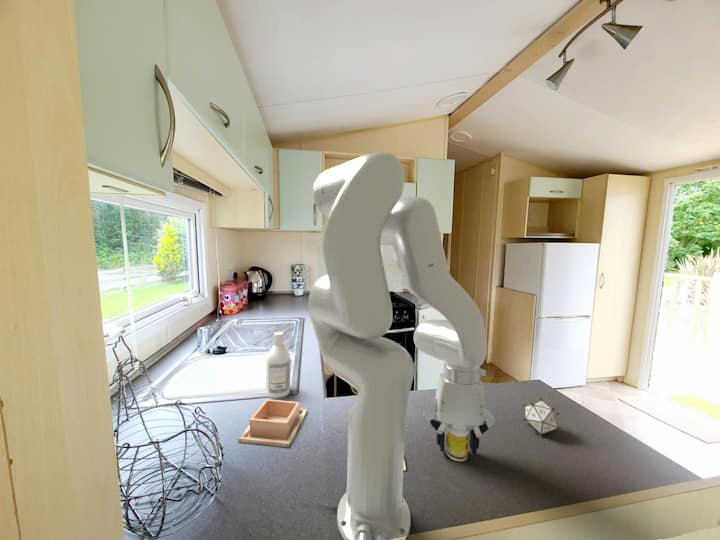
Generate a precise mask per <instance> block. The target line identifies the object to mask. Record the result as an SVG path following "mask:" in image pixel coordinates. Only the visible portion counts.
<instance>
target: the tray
mask: <svg viewBox="0 0 720 540" xmlns="http://www.w3.org/2000/svg"><path fill="white" fill-rule="evenodd" d="M307 413H308V409H307V408H300V412H299V418H298V420H297V422H296V424H295V426H294V427H293V429H292V431H291V433H290V435H289V436H288V438H287V439H277V438H267V437H258V436H250V424H249V425H248V426H247V427H246V428H245V430H244V431H243V432H242V434H241V435H240V436H239V438H238V443H244V444H254V445H265V446H271V447H280V448H281V447H283V448H290V446H291V444H292V442H293V441H294V438H295V437H296V435H297V433H298V431H299V429H300V427H301V425H302V423H303V422H304V419H305V417H306V415H307ZM287 418H288V417H284V416H273V415H267V417H266V418H265V420H276V421H286V420H287Z"/></svg>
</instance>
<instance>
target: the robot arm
mask: <svg viewBox="0 0 720 540" xmlns="http://www.w3.org/2000/svg"><path fill="white" fill-rule="evenodd" d="M404 187H405V171H404V168H403V164H402V163H401V160H400V159H399V158H398V157H397V156H395V155H394V154H392V153H389V152H386V151H377V152H372V153H367V154H364V155H360V156H358V157H355V158H353V159H350V160H348V161H345V162H344V163H341V164H339V165H336V166H334V167H330V168H329V169H326V170H324V171H323V172H322V173H320V174H319V175H318V177H316V180H315V182H314V184H313V188H312V197H313V201H314V204H315V206H316V207H317V210H318V211H319V212H320V213H321V214H322V215H323V216H325V218H327V220H326V222H325V226H324V230H323V235H322V254H323V260H324V265H325V270H326V274H325V275H323V276H321V277H319V278H318V279H317V280H316V281H315V282H314V283H313V285H312V286H311V289H310V292H309V296H308V306H307V307H308V313H309V318H310V321H311V325H312V327H313V332H314V334H315V337H316V341H317V345H318V347H319V348H318V349H319V350H320V354H321V356H322V359H323V362H324V364H325V366H326V367H327V369H328V370H329V371H330V372H331V373H332V374H334V375H335V376H337V378H339V379H341V380H342V381H344V382H345V383H347V384H348V385H349V386H351V387H353V389H355V390H356V393H357V399H356V401H355V403H354V404H353V405H352V407H351V410H350V411H349V415H348V422H347V423H348V426H347V428H348V429H347V434H348V435H347V467H346V473H347V474H346V491H345V493H344V494H343V495H342V497H341V498H340V499H339V500H340V501H339V503H338V506H337V510H336V521H337V523H336V524H337V528H338V530H339V531H338V532H339V533H340V535H341V538H342V539H343V540H391V539H394V538H399V537H405V536H407V535H408V536H409V534H410V532H411V531H410V530H411V512H410V509H409V506H408V503H407V502H406V500H405V498H404V497H403V485H404V484H403V483H404V482H403V481H404V471H403V465H404V461H405V457H404V456H405V442H406V441H405V439H406V438H405V436H406V418H407V417H406V415H407V407H408V402H409V396H410V393H411V389H412V384H413V380H414V374H415V363H414V361H413V358H412V355H411V354H410V353H409V352H408V350H407V349H406V348H405V347H403V346H402V345H401V344H399V343H397V342H396V341H394V340H392V339H389V338H386V337H385V334H387V333H388V331H389V330H390V328H391V326H392V323H393V314H394V313H393V305H392V300H391V299H392V298H391V295H390V294H391V293H390V290H389V285H388V281H387V275H386V271H385V265H384V261H383V255H382V249H381V246H393V250H394V252H395V255H396V256H395V257H396V259H397V263H398V267H399V269H400V274H401V277H402V280H403V283H404V286H405V288H406V289H407V290H408V292H410V293H411V294H412V295H414V297H416V298H418V299H419V300H420V301H422V302H424V303H425V304H427V305H428V306H430V307H431V308H433V309H434V310H436V311H437V312H438V313H440V314H441V315H442V316H443V317H444V318H445V319H428V320H427V319H426V320H425V321H422V322H421V323H420V324H418V326H417V327H416V328H415V330H414V332H413V342H414V344H415V347H416V348H417V350H418V351H420V352H421V353H422V354H425V355H427V356H429V357H432V358H435V359H437V360H440V361H443V372H442V373H440V374H439V376H438V381H437V386H436V391H435V399H434V402H433V403H432V404H431V405H430V406H429V407H427V408H426V409H425V410H423V413H422V414H423V416H424V418H425V419H426V420H427V421H428V423H430V425H431V426H432V428H433V429H434V430H435V431H436V445H438V446H439V450H440V452H445V445H446V441H445V440H446V436H445V432H444V431H445V429H446V428H447V426H448V424H456V425H466V426H469V427H471V429H470V430H469V439H468V447H469V449H470V450H471V454H472V455H477V450H479V449H480V438H482V436H483V434H484V433H486V432H487V431H488V430H489V428H491V427H493V425H494V424H496V420H495V418H494V416H493V415H492V414H491V413H490V412H488V411H487V409H486V408H485V401H484V400H485V399H484V397H485V396H484V388H483V387H484V386H483V382H482V379H481V378H482V377H483V376H484V377H486V376H487V371H486V369H483V368H481V366H483V365H482V364H484V362H485V361H486V357H487V355H488V354H487V353H488V338H487V332H486V328H485V327H486V326H485V323H484V322H485V321H484V318H483V314H482V312H481V310H480V308H479V306H478V304H477V303H476V302H475V301H474V299H473V298H472V297H471V296H470V294H468V292H467V291H466V290H465V289H464V288H463V287H462V286H461V284H460V283H458V281H457V280H455V279H454V278H453V277H452V275H451V273H450V271H449V267H448V261H447V257H446V253H445V250H444V245H443V240H442V235H441V232H440V226H439V222H438V218H437V214H436V211H435V208H434V206H433V204H432V203H431V202H430V201H429V200H428V199H425V198H422V197H419V196H418V197H417V196H409V197H401V196H402V193H403V191H404ZM383 336H384V337H383ZM435 413H436V417H437V419H436V418H435V417H434V416H433V415H434V414H435Z"/></svg>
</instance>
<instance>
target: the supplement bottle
mask: <svg viewBox="0 0 720 540" xmlns="http://www.w3.org/2000/svg"><path fill="white" fill-rule="evenodd" d="M445 440H446V441H445V454H446V456H448V458H449V459H451V460H453V461H456V462H464V461H466V460H467V459H468V455H469V454H468V452H469V440H470V430H469V429H468V426H466V425H456V424H447V426H446V437H445Z"/></svg>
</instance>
